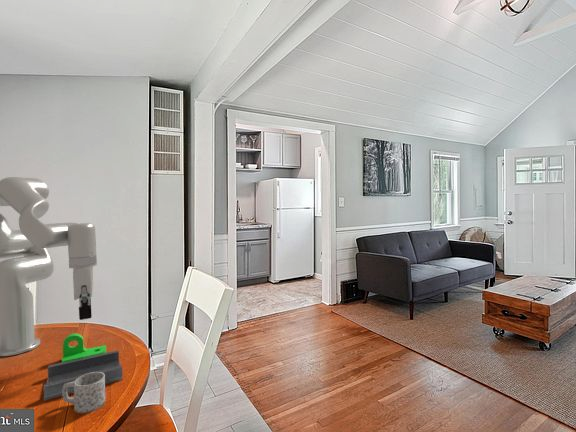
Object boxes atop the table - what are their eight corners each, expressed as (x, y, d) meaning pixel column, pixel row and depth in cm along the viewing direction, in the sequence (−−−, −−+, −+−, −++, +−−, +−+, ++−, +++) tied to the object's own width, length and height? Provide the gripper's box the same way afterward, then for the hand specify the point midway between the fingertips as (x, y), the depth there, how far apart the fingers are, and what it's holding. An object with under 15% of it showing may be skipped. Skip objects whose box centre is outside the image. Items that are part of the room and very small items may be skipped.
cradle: (48, 377, 93) (48, 365, 92) (118, 360, 102) (118, 350, 102) (43, 400, 82) (43, 387, 81) (122, 379, 91) (122, 367, 91)
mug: (110, 396, 83) (110, 371, 83) (96, 413, 77) (95, 386, 77) (71, 397, 83) (71, 372, 83) (53, 414, 77) (53, 387, 76)
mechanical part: (61, 367, 98) (61, 342, 98) (63, 359, 104) (63, 335, 103) (106, 358, 105) (105, 334, 104) (106, 350, 110) (105, 327, 109)
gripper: (69, 259, 107) (72, 309, 108) (67, 267, 93) (70, 325, 93) (95, 257, 111) (98, 305, 112) (97, 264, 97) (100, 319, 97)
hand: (85, 314), depth 103 cm, fingers open, 9 cm apart
